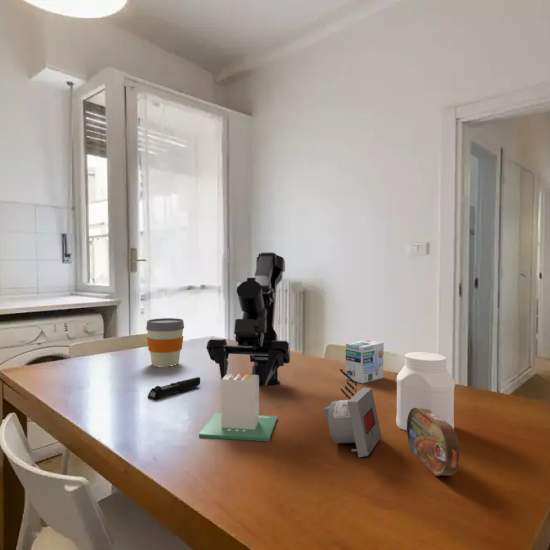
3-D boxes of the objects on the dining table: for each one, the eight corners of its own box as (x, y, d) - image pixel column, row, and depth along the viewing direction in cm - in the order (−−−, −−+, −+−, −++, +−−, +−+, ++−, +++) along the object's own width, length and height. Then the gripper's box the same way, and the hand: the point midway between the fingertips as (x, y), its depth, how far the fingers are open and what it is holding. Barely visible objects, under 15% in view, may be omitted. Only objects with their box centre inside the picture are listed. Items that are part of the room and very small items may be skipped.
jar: (460, 427, 88) (461, 356, 88) (443, 441, 81) (444, 364, 80) (408, 413, 96) (408, 349, 95) (388, 425, 88) (389, 355, 88)
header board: (215, 415, 94) (215, 399, 94) (277, 418, 92) (277, 402, 92) (198, 436, 82) (198, 418, 82) (268, 441, 80) (269, 422, 80)
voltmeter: (397, 457, 74) (398, 402, 74) (335, 461, 72) (335, 405, 72) (352, 407, 100) (352, 366, 100) (305, 409, 99) (305, 367, 99)
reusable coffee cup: (167, 358, 151) (167, 317, 151) (191, 363, 144) (191, 320, 144) (138, 364, 141) (138, 320, 141) (162, 370, 134) (162, 324, 134)
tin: (405, 444, 79) (405, 400, 79) (420, 444, 79) (421, 400, 79) (443, 486, 64) (444, 432, 64) (463, 486, 64) (463, 432, 64)
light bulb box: (362, 384, 119) (363, 346, 119) (344, 379, 125) (344, 343, 124) (384, 377, 127) (384, 342, 126) (366, 373, 132) (366, 339, 131)
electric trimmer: (203, 389, 116) (203, 377, 116) (155, 401, 104) (155, 389, 104) (195, 386, 118) (195, 375, 118) (146, 398, 106) (146, 386, 106)
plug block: (226, 419, 90) (226, 372, 90) (258, 421, 89) (258, 374, 89) (221, 427, 85) (221, 378, 85) (254, 429, 85) (255, 379, 84)
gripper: (208, 303, 96) (193, 363, 85) (289, 305, 93) (283, 366, 83) (218, 331, 104) (204, 389, 93) (292, 333, 101) (287, 393, 91)
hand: (243, 384), depth 90 cm, fingers open, 9 cm apart
